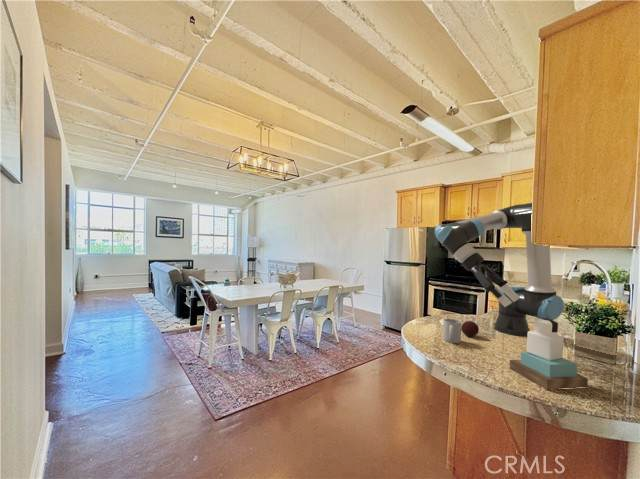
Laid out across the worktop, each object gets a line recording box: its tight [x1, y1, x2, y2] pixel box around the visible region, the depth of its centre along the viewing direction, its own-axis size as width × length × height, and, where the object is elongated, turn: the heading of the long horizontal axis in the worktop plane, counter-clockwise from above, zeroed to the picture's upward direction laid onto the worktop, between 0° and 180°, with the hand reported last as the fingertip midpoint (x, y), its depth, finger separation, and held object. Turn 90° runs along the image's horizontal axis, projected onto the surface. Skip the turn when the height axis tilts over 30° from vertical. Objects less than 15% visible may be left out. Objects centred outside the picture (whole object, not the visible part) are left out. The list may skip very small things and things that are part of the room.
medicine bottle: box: [525, 317, 565, 361], centre depth 91 cm, size 7×7×12 cm
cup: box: [442, 318, 462, 344], centre depth 122 cm, size 7×10×9 cm
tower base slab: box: [509, 359, 589, 391], centre depth 91 cm, size 14×14×4 cm
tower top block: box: [520, 351, 578, 378], centre depth 90 cm, size 10×10×4 cm
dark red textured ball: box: [461, 320, 480, 337], centre depth 131 cm, size 7×8×7 cm
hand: (513, 302), depth 98 cm, fingers open, 13 cm apart
